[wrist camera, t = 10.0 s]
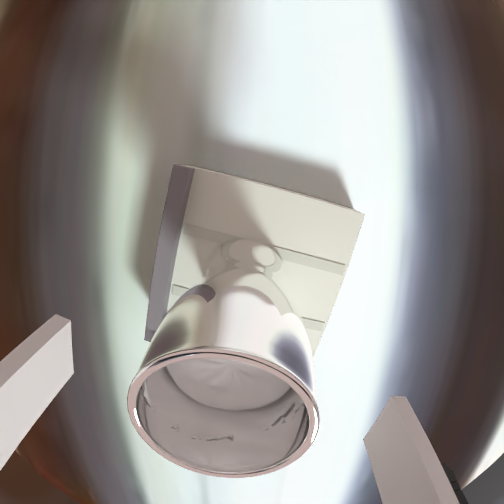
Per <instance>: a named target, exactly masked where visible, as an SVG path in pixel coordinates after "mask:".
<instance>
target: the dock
mask: <svg viewBox="0 0 504 504" xmlns="http://www.w3.org/2000/svg"><path fill="white" fill-rule="evenodd" d="M364 215H365V214H363V213H361V212H358V211H356V210H354V209H351V208H348V207H345V206H342V205H339V204H335V203H332V202H329V201H325V200H322V199H319V198H315V197H312V196H308V195H305V194H301V193H298V192H294V191H290V190H287V189H283V188H280V187H276V186H272V185H268V184H265V183H261V182H257V181H253V180H249V179H245V178H241V177H237V176H233V175H229V174H225V173H220V172H216V171H212V170H208V169H203V168H199V167H194V166H190V165H174V166H173V170H172V174H171V179H170V183H169V188H168V193H167V197H166V202H165V207H164V212H163V217H162V223H161V228H160V234H159V239H158V245H157V251H156V257H155V263H154V269H153V276H152V283H151V290H150V297H149V305H148V313H147V321H146V330H145V339H144V340H146V341H149V342H151V340H152V338H153V336H154V334H155V332H156V331H157V329H158V327H159V325H160V324H161V322H162V320H163V318H164V317H165V316H166V314H167V313H168V311H169V310H170V309H171V307H172V306H173V305H174V303H175V302H176V301H177V300H178V299H179V298H180V297H181V296H182V295H183V294H184V293H185V292H186V291H187V290H188V289H189V288H190V287H191V286H193V285H194V284H195V283H197V282H198V281H199V280H201V279H202V278H203V277H205V275H206V268H207V265H208V262H209V260H210V258H211V257H212V255H213V254H214V253H215V252H216V251H217V250H218V249H219V248H220V247H221V246H223V245H225V244H226V243H229V242H231V241H234V240H239V239H251V240H256V241H260V242H262V243H264V244H266V245H268V246H269V247H271V248H272V249H273V250H274V251H275V252H276V253H277V254H278V255H279V256H280V258H281V259H282V261H283V263H284V266H285V269H286V274H287V284H286V289H285V291H286V292H287V294H288V295H289V296H290V298H291V299H292V301H293V302H294V304H295V306H296V308H297V310H298V312H299V314H300V316H301V318H302V320H303V322H304V325H305V328H306V331H307V334H308V338H309V341H310V345H311V350H312V356H314V354H315V352H316V349H317V347H318V344H319V342H320V339H321V337H322V335H323V332H324V330H325V327H326V325H327V322H328V319H329V317H330V314H331V312H332V309H333V306H334V304H335V301H336V298H337V296H338V293H339V290H340V287H341V285H342V282H343V279H344V276H345V273H346V271H347V268H348V265H349V262H350V259H351V256H352V253H353V250H354V247H355V244H356V241H357V238H358V234H359V231H360V228H361V225H362V222H363V218H364Z"/></svg>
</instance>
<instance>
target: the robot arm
mask: <svg viewBox="0 0 504 504" xmlns="http://www.w3.org/2000/svg"><path fill="white" fill-rule="evenodd" d="M73 373H74V370H73V357H72V340H71V320H68V319H66V318H64V317H61V316H59V315H56V314H55V315H54V316H53V317H52V318H51V319H49V320H48V321H47V322H46V323H44V324H43V325H42V326H41V327H40V328H38V329H37V330H36V331H35V332H34V333H33V334H31V335H30V336H29V337H28V338H27V339H25V340H24V341H23V342H22V343H21V344H20V345H19V346H17V347H16V348H15V349H14V350H13V351H12V352H11V353H9V354H8V355H7V356H6V357H5V358H4V359H3V360H2V361H0V470H1V469H2V467H3V466H4V464H5V463H6V462H7V460H8V459H9V457H10V456H11V454H12V453H13V452H14V450H15V449H16V448H17V446H18V445H19V443H20V442H21V441H22V439H23V438H24V437H25V435H26V434H27V433H28V431H29V430H30V428H31V427H32V426H33V424H34V423H35V422H36V421H37V419H38V418H39V417H40V415H41V414H42V413H43V411H44V410H45V409H46V407H47V406H48V405H49V404H50V402H51V401H52V400H53V398H54V397H55V396H56V395H57V393H58V392H59V391H60V390H61V388H62V387H63V386H64V385H65V383H66V382H67V381H68V380H69V378H70V377H71V376H72V375H73ZM363 440H364V443H365V446H366V450H367V453H368V456H369V459H370V462H371V466H372V469H373V472H374V475H375V479H376V482H377V485H378V489H379V492H380V496H381V499H382V502H383V504H468V502H467V500H466V498H465V496H464V494H463V492H462V490H460V489H461V488H460V485H459V483H457V479H456V477H455V475H454V473H453V471H452V470H451V469H450V468H449V467H448V466H447V465H446V464H445V463H440V461H439V459H438V457H437V455H436V453H435V451H434V449H433V447H432V445H431V443H430V441H429V440H428V438H427V436H426V434H425V432H424V430H423V428H422V426H421V424H420V422H419V420H418V419H417V417H416V415H415V413H414V411H413V409H412V407H411V405H410V404H409V402H408V400H407V398H406V397H399V396H391V398H390V399H389V401H388V403H387V404H386V406H385V407H384V409H383V411H382V412H381V414H380V415H379V417H378V418H377V420H376V421H375V423H374V424H373V426H372V427H371V429H370V430H369V432H368V433H367V435H366V436H365V437H364V439H363Z"/></svg>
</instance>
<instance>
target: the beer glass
mask: <svg viewBox="0 0 504 504" xmlns="http://www.w3.org/2000/svg"><path fill="white" fill-rule="evenodd" d="M286 284H287V274H286V269H285V266H284V263H283V261H282V259H281V258H280V256H279V255H278V254H277V253H276V252H275V251H274V250H273V249H272V248H271V247H269V246H268V245H266V244H264V243H262V242H260V241H256V240H251V239H239V240H234V241H231V242H229V243H226V244H225V245H223V246H221V247H220V248H219V249H218V250H217V251H216V252H215V253H214V254H213V255H212V257H211V258H210V260H209V262H208V265H207V268H206V275H205V277H203V278H202V279H201V280H199V281H198V282H197V283H195V284H194V285H193V286H191V287H190V288H189V289H188V290H187V291H186V292H185V293H184V294H183V295H182V296H181V297H180V298H179V299H178V300H177V301H176V302H175V303H174V305H173V306H172V307H171V309H170V310H169V311H168V313H167V314H166V316H165V317H164V318H163V320H162V322H161V324H160V325H159V327H158V329H157V331H156V332H155V334H154V336H153V338H152V340H151V342H150V344H149V346H148V349H147V351H146V353H145V355H144V358H143V360H142V362H141V365H140V367H139V370H138V372H137V374H136V376H135V377H134V379H133V380H132V382H131V385H130V387H129V391H128V397H127V406H128V412H129V415H130V418H131V421H132V423H133V425H134V427H135V429H136V430H137V432H138V433H139V435H140V436H141V437H142V439H143V440H144V441H145V442H146V443H147V444H148V445H149V446H150V447H151V448H152V449H153V450H155V451H156V452H157V453H158V454H160V455H161V456H163V457H164V458H166V459H167V460H169V461H171V462H173V463H175V464H177V465H179V466H181V467H183V468H186V469H188V470H191V471H194V472H197V473H201V474H205V475H210V476H216V477H226V478H244V477H253V476H259V475H264V474H268V473H271V472H274V471H277V470H279V469H281V468H284V467H286V466H287V465H289V464H291V463H293V462H294V461H296V460H297V459H298V458H300V457H301V456H302V455H303V454H304V453H305V452H306V451H307V450H308V448H309V447H310V446H311V444H312V443H313V441H314V439H315V437H316V435H317V432H318V428H319V411H318V407H317V396H316V380H315V370H314V362H313V356H312V350H311V345H310V341H309V338H308V334H307V331H306V328H305V325H304V322H303V320H302V318H301V316H300V314H299V312H298V310H297V308H296V306H295V304H294V302H293V301H292V299H291V298H290V296H289V295H288V294H287V292H286V291H285V289H286Z"/></svg>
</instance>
